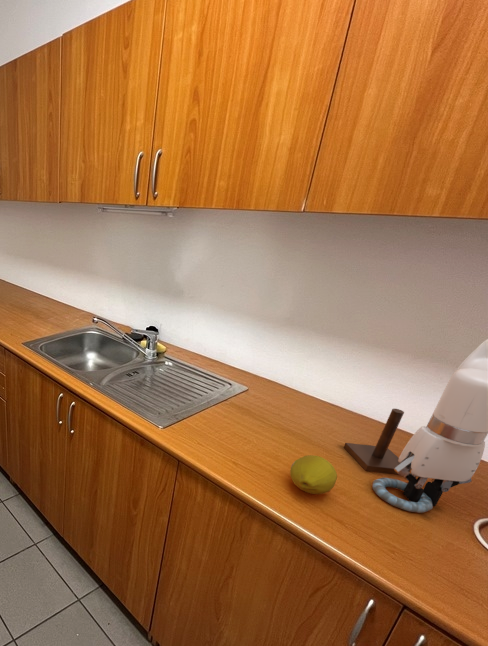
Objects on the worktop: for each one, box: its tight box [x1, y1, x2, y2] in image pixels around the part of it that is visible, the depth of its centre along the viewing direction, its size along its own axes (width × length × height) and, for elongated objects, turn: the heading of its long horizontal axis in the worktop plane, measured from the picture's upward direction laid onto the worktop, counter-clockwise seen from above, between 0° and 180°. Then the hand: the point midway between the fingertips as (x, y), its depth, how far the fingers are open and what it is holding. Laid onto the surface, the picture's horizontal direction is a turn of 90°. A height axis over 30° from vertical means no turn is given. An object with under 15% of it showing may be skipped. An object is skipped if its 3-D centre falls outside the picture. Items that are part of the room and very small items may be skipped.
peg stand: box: [343, 408, 411, 475], centre depth 94 cm, size 9×9×14 cm
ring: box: [372, 477, 434, 514], centre depth 86 cm, size 9×9×2 cm
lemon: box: [289, 454, 338, 495], centre depth 87 cm, size 11×8×8 cm
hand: (418, 499), depth 85 cm, fingers closed on ring, 2 cm apart
